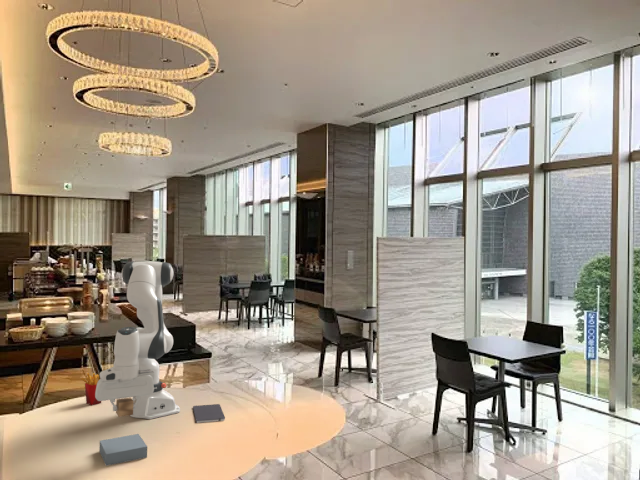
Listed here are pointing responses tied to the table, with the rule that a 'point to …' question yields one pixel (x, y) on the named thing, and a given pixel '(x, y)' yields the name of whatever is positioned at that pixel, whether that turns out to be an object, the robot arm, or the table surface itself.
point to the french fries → (91, 389)
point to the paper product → (208, 413)
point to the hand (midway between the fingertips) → (124, 409)
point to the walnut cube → (124, 407)
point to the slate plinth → (122, 449)
